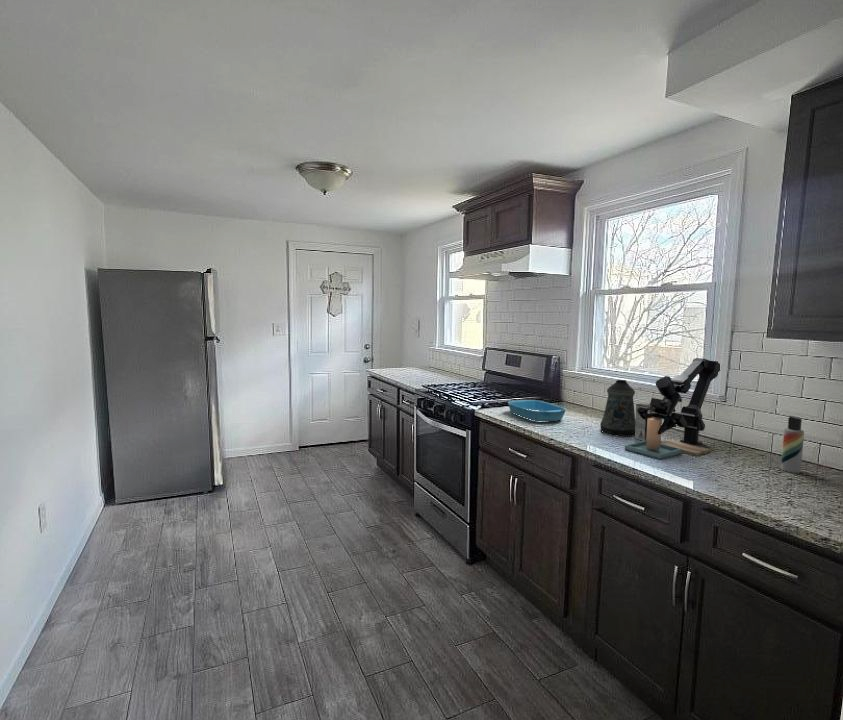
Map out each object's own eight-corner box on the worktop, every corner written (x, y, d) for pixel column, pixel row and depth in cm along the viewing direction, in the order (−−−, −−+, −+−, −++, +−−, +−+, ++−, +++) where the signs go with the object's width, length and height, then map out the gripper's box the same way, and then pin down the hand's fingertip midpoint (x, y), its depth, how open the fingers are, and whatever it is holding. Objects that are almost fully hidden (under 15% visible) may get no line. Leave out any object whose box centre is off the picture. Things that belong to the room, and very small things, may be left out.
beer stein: (602, 435, 219) (604, 382, 217) (597, 426, 238) (599, 377, 236) (640, 437, 216) (643, 383, 213) (632, 428, 234) (634, 378, 232)
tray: (646, 444, 203) (646, 440, 203) (681, 453, 191) (681, 448, 190) (624, 450, 195) (625, 445, 195) (659, 459, 183) (660, 454, 182)
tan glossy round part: (657, 446, 195) (658, 418, 194) (661, 449, 190) (663, 420, 189) (644, 445, 196) (645, 417, 195) (648, 449, 191) (649, 420, 189)
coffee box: (650, 436, 217) (652, 402, 216) (661, 440, 211) (663, 405, 210) (634, 438, 215) (635, 403, 213) (644, 441, 209) (646, 406, 207)
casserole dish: (501, 412, 272) (501, 400, 272) (534, 409, 279) (534, 398, 279) (536, 426, 238) (536, 412, 237) (573, 423, 245) (574, 409, 244)
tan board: (670, 442, 208) (670, 439, 207) (710, 452, 193) (710, 449, 193) (655, 446, 202) (655, 443, 202) (696, 456, 187) (696, 453, 187)
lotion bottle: (781, 467, 174) (785, 414, 172) (800, 470, 171) (805, 416, 169) (780, 471, 170) (784, 416, 168) (800, 474, 166) (805, 419, 164)
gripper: (640, 388, 201) (623, 416, 196) (684, 394, 185) (666, 425, 180) (650, 404, 205) (634, 432, 201) (693, 411, 190) (677, 442, 185)
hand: (651, 432), depth 191 cm, fingers closed on tan glossy round part, 5 cm apart
